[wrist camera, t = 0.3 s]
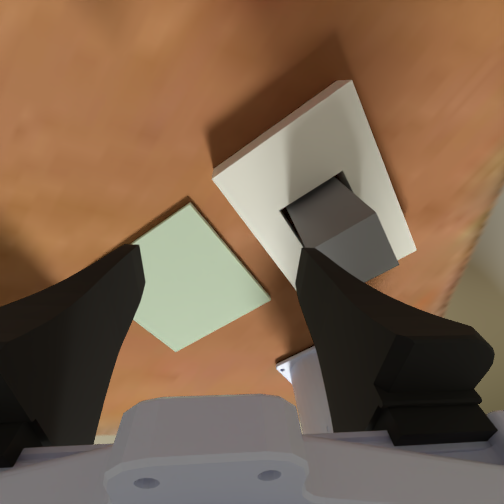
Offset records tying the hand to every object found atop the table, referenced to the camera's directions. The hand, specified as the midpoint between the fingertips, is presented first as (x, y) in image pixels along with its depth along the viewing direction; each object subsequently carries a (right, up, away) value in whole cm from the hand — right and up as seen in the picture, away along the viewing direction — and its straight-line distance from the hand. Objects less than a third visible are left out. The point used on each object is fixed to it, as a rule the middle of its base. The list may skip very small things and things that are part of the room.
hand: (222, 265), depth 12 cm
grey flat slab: (+7, +4, +10) cm, 13 cm away
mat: (-5, -3, +13) cm, 14 cm away
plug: (+7, +4, +10) cm, 12 cm away
